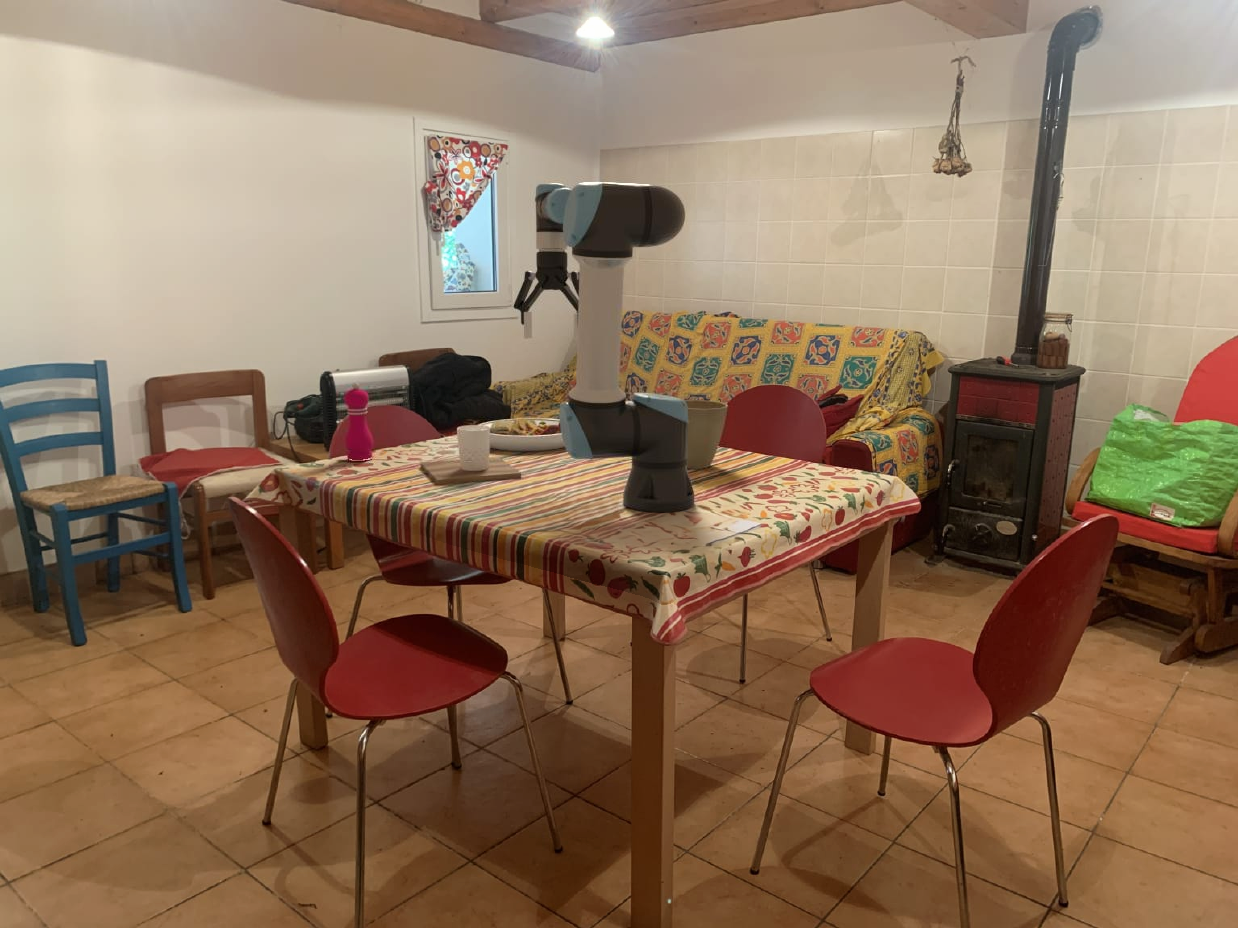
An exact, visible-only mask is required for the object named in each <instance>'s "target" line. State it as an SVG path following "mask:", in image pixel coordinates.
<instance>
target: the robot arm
mask: <svg viewBox="0 0 1238 928" xmlns="http://www.w3.org/2000/svg"><path fill="white" fill-rule="evenodd" d="M534 201H535V228H536V229H535V231H536V232H535V233H536V234H535V237H536V238H535V245H536V246H535V249H537V250H538V251H537V252H535V253H536V272H534V271H533V270H526V271H524V276H523V277H524V278H523V279H524V280H523V282H522V284H521V287H520V290H519V292H518V294H517V297H516V299H515V301H514V303H513V307H512V308H514V309H515V310H518V311H520V322H521V323H520V324H521V325H523V333H524V334H523V335H524V336H523V337H524V339H528V340H529V339H532V338H533V329H532V328H533V325H532V324H533V323H532V322H533V320H532V317H533V316H532V314H533V313H532V311H530V309H531V307H532V306H533V305H534V304H535V303H536V301H537V299H538V298H539V297H540V295H541V294H542V293H543V292H544V291H551V290H552V291H560V292H561V293H562V294H563V295H564V296H565V298H566V299H567V301H568V302H569V303H570V304H571V306H572V307H573V309H574V310H575V311H576V312H575V313H574V312H573V341H577V343H576V345H577V347H576V348H577V349H576V350H577V352H576V381H575V382H576V384H575V385H574V387H573V388H571V390H569V392H568V401H564V402H562V403H561V404H560V405H559V412H558V413H559V414H558V416H559V417H558V420H560V428H561V433H562V438H563V442H564V445H565V447H564V448H565V450H566V452H567V454H568V455H569V456H570V457H571V458H573V459H575V460H589V461H590V460H591V461H593V460H599V459H614V458H615V459H616V458H619V459H620V458H629V457H630V458H631V469H630V471H629V475H628V478H627V480H626V484H625V486H624V489H623V494H622V496H623V497H622V499H623V501H622V503H623V506H624V505H625V507H627V508H629V509H632V510H637V511H643V512H653V513H668V512H672V513H673V512H678V511H684V510H688V509H690V508H693V507H694V505H695V491H694V488H693V485H692V482H691V479H690V474H689V471H688V468H687V440H688V423H689V420H688V407H687V404H686V402H685V401H683V400H684V399H682V398H678V397H675V396H670V395H665V394H658V393H650V392H634V393H633V394H632V396H631V400H627V399H626V398H627V395H626V393H625V391H624V390H623V389H621V387H620V369H621V368H620V367H621V345H622V344H621V343H622V342H621V341H622V321H623V301H624V300H623V295H624V294H623V293H624V277H625V275H624V274H625V273H624V272H625V266H626V264H629V262H630V261H631V260H632V259H633V254H634V253H633V252H634V251H633V249H634V248H649V247H650V248H651V247H657V246H660V245H663V244H667V243H668V242H670V241H671V240H674V239H675V238H676V237H677V236H678V234H679V233H680V232H681V231H682V229H683V227H684V224H685V221H686V220H685V219H686V210H685V207H684V206H685V205H684V204H683V201H682V200H681V198H680V197H679V196H678V195H677V194H676V193H675V192H674V191H672V190H671V189H668V188H665V187H663V186H661V185H660V186H659V185H655V184H646V183H644V184H642V183H641V184H639V183H621V182H620V183H619V182H618V183H617V182H601V181H596V182H595V181H594V182H582V183H581V182H580V183H578V184H576V185H575V186H574V187H573V188H572V189H570V188H567V186H566V185H565V184H562V183H539V184H538V185H537V186H536V188H535V197H534ZM568 247H569V248H571V256H572V258H573V259H574V260H575V261H576V262H577V263H578V265H579V271H576V270H575V271H570V272H569V271H568V253H567V251H566V250H567V249H568ZM535 279H536V280H537V284H536V285H534V288H533V290H532V291H531V293H530V289H531V287H532V285H533V282H534V281H535ZM568 280H569V281H570V282H571V283H572V286H573V287H574V288H573V289H574V291H575V293H576V295H577V296H576V295H575V293H574V292H573V291H572V289H571V287H570V285H569V284H568V283H567V281H568ZM529 293H530V294H529ZM528 294H529V295H528ZM527 296H528V297H527ZM577 297H578V298H577Z"/></svg>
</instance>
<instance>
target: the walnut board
mask: <svg viewBox="0 0 1238 928" xmlns="http://www.w3.org/2000/svg"><path fill="white" fill-rule="evenodd" d="M420 469H422V471H424V473H426V475H427V474H428V476H427V477H429V478H430V479H431V478H432V479H431V480H432V481H433V483H435V484H436V485H437V486H440V485H441V486H442V485H449V484H450V485H451V484H452V485H453V484H462V483H475V482H476V483H477V482H486V481H498V480H508V479H520V478H522V472H521V471H519V470H518V469H517V468H515V467H513V466H512V465H511V464H509V463H508V462H506V460H503V459H502V458H501V457H499V456H494V457H493V456H491V457H490V456H489V468H488V469H486V470H481V471H465V470H462V469H461V466H460V459H453V460H452V459H451V460H440V461H429V462H428V461H427V462H420Z"/></svg>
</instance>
